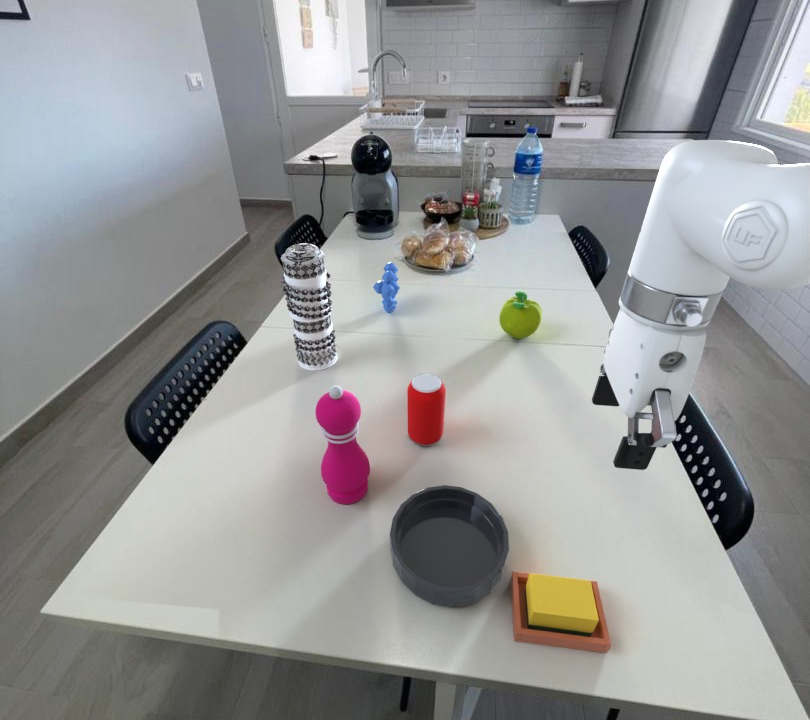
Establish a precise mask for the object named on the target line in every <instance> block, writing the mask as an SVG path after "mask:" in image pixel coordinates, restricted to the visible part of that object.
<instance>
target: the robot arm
mask: <svg viewBox="0 0 810 720" xmlns="http://www.w3.org/2000/svg"><path fill="white" fill-rule="evenodd" d="M730 279H733V280H734V281H736V282H738V283H740V284H743V285H744V286H747V287H750V288H753V289H756V290H764V291H787V290H792V289H797V288H802V287H806V286H810V162H807V163H795V164H783V165H782V164H781V165H780V164H779V161H778V158H777V156H776V155H775V154H774V152H773V151H772V150H770V149H768V148H766V147H764V146H761V145H758V144H753V143H748V142H742V141H736V140H735V141H733V140H723V139H696V140H689V141H688V140H687V141H684V142H681V143H679V144H677V145H675V146H673V147H672V148H671V149H670V150H669V151H668V152H667V153H666V155H665V156H664V157H663V159H662V161H661V164H660V167H659V170H658V173H657V175H656V179H655V182H654V186H653V188H652V191H651V196H650V199H649V202H648V205H647V208H646V212H645V215H644V218H643V222H642V225H641V228H640V231H639V234H638V237H637V240H636V245H635V247H634V250H633V253H632V257H631V261H630V264H629V267H628V270H627V273H626V277H625V280H624V283H623V286H622V290H621V293H620V295H619V299H618V305H619V311H618V313H617V315H616V317H615V321H614V323H613V325H612V328H610V329H609V332H608V339H607V343H606V346H605V349H604V350H603V353H604V354H603V363H601V365H600V369H599V373H600V375H599V376H598V378H597V382H596V385H595V388H594V391H593V395H592V396H591V397H592V398H591V402H592V405H594V406H606V407H620V409H621V411H622V412H623V414H624V415H625V416H626V417H627V435H624V436H622V438H621V441H620V443H619V445H618V448H617V450H616V453H615V455H614V458H613V461H612V463H613V465H614V467H615V468H617V469H626V470H638V471H644V470H647V469H648V467H649V466H650V463H651V461H652V459H653V456H654V454H655V452H656V450H657V448H662V449H666V448H667V446H668V445H670V444H671V443H673V442H674V441H676V440H677V436H678V432H677V427H676V421H677V420H678V419H679V417H680V415H681V414H682V411H683V409H684V407H685V405H686V403H687V402H686V401H687V400H688V398H689V394H690V392H691V390H692V387H693V384H694V381H695V379H696V376H697V374H698V370H699V367H700V364H701V360H702V357H703V353H704V350H705V345H706V340H707V333H708V332H707V330H706V327H708V325H709V324H710V322H711V320H712V318H713V316H714V314H715V311H716V309H717V307H718V305H719V303H720V300H721V298H722V296H723V294H724V293H725V289H726V287H727V285H728V283H729V281H730ZM647 406H649V407H650V408H651V412H642V411H643V410H644V409H645V408H646V407H647ZM640 419H641V420H651V430H650V432H639V430H640V429H639V427H640V426H639V425H640Z"/></svg>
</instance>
